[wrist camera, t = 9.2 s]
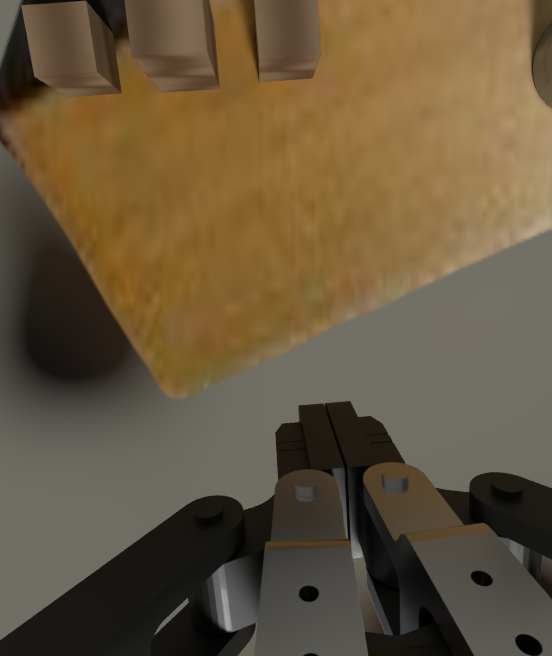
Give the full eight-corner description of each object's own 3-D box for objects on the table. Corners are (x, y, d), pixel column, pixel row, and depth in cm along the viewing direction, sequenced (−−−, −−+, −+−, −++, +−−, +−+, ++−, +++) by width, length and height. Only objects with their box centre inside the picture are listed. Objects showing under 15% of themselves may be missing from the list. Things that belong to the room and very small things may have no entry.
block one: (308, 15, 42) (317, -22, 35) (312, 78, 43) (320, 54, 36) (254, 19, 41) (252, -17, 35) (259, 82, 43) (258, 59, 36)
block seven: (112, 30, 41) (85, -4, 35) (121, 93, 43) (97, 71, 36) (57, 34, 41) (20, 1, 35) (68, 97, 43) (34, 76, 36)
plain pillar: (214, 22, 41) (199, -37, 32) (219, 89, 43) (207, 51, 33) (153, 26, 41) (120, -32, 32) (161, 92, 43) (131, 56, 33)
